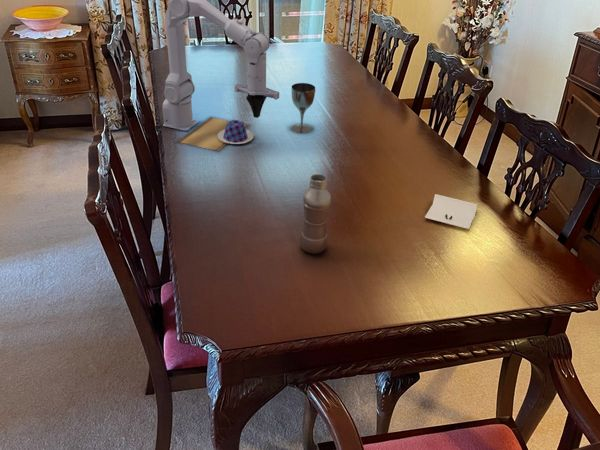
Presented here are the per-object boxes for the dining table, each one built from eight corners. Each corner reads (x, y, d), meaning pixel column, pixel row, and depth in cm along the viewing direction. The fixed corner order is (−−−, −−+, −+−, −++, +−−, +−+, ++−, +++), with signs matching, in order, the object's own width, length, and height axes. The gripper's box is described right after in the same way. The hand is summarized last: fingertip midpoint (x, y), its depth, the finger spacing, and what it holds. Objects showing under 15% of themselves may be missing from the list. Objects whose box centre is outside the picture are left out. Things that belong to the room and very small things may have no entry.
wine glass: (310, 134, 189) (312, 92, 181) (287, 131, 191) (289, 89, 182) (314, 125, 196) (317, 84, 187) (292, 122, 197) (294, 81, 189)
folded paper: (423, 220, 148) (425, 214, 147) (433, 199, 158) (435, 193, 156) (469, 232, 144) (470, 226, 143) (476, 210, 154) (478, 204, 153)
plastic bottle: (309, 237, 139) (313, 168, 128) (331, 247, 136) (338, 177, 125) (294, 250, 135) (297, 178, 124) (317, 260, 132) (323, 188, 121)
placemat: (177, 142, 180) (177, 141, 180) (210, 117, 198) (210, 117, 198) (218, 151, 176) (218, 151, 176) (248, 125, 193) (248, 125, 193)
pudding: (229, 127, 191) (229, 112, 188) (260, 135, 187) (260, 121, 184) (210, 140, 182) (209, 125, 179) (241, 149, 178) (241, 134, 175)
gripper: (229, 75, 169) (230, 116, 176) (273, 83, 165) (272, 125, 172) (239, 68, 174) (240, 109, 182) (282, 75, 170) (281, 117, 178)
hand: (256, 116), depth 177 cm, fingers closed
